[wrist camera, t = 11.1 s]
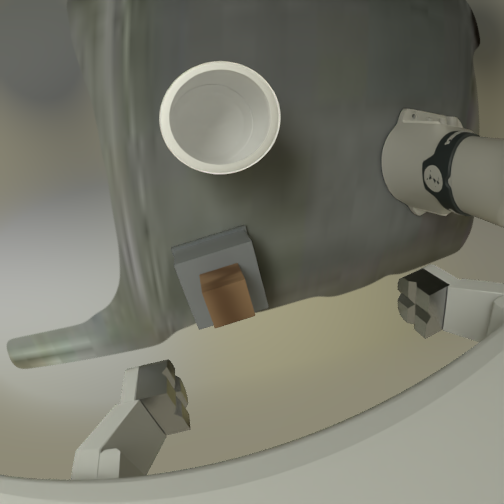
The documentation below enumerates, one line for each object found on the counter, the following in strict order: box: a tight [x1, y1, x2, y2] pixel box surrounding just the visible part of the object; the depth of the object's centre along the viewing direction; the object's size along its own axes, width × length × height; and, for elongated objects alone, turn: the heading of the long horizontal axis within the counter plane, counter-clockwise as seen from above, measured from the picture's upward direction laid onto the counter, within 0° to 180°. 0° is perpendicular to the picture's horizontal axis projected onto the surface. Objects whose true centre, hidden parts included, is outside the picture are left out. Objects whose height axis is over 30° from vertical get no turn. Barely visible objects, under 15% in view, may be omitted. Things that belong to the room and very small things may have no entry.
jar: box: [159, 61, 280, 174], centre depth 31 cm, size 11×10×15 cm
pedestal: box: [171, 225, 269, 329], centre depth 43 cm, size 11×11×6 cm
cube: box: [199, 263, 255, 328], centre depth 37 cm, size 5×5×5 cm
